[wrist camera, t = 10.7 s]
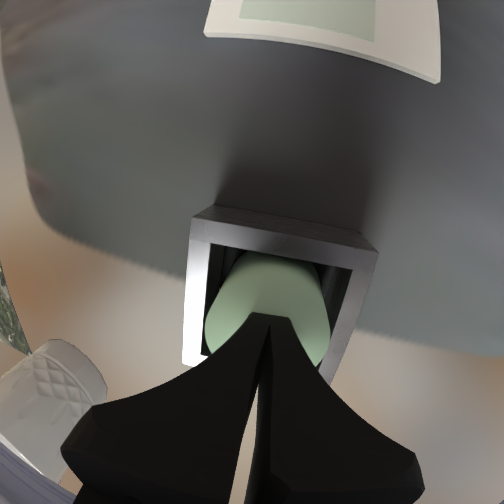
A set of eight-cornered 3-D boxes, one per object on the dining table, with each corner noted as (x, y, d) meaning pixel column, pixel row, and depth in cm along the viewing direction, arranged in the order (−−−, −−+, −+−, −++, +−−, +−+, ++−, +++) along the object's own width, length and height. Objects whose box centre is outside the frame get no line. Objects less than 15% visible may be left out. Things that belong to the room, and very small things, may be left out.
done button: (330, 254, 12) (346, 294, 9) (307, 335, 14) (310, 390, 10) (233, 236, 13) (210, 269, 9) (222, 319, 14) (201, 370, 10)
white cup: (30, 342, 19) (-37, 405, 9) (68, 319, 17) (-23, 404, 7) (83, 408, 20) (32, 479, 11) (133, 401, 18) (75, 499, 9)
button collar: (359, 232, 12) (378, 252, 10) (323, 352, 15) (327, 390, 12) (212, 204, 13) (191, 217, 10) (200, 329, 15) (182, 363, 12)
